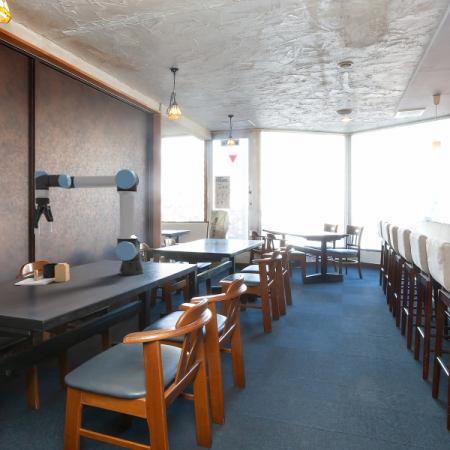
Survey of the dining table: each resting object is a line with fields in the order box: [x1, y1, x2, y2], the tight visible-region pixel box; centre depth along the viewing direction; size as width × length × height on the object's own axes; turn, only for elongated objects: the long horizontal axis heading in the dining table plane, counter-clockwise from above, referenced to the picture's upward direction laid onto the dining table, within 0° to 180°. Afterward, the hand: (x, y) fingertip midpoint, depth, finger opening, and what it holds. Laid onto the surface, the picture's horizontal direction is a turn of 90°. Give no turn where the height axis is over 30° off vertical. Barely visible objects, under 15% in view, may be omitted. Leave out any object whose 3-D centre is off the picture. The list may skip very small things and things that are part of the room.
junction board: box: [14, 269, 55, 286], centre depth 211 cm, size 16×20×7 cm
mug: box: [42, 262, 58, 278], centre depth 221 cm, size 9×12×9 cm
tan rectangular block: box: [54, 262, 71, 283], centre depth 215 cm, size 6×6×10 cm
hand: (43, 233), depth 219 cm, fingers open, 13 cm apart
